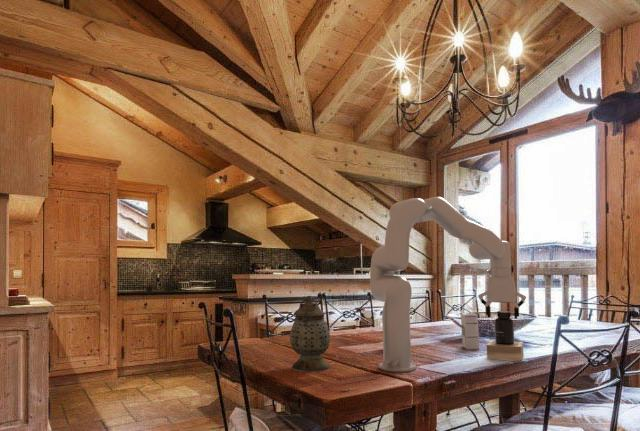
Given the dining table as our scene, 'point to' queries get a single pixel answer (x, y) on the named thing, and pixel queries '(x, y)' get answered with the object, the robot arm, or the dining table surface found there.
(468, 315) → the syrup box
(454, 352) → the dining table surface
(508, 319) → the supplement bottle
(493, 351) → the plinth
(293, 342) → the lantern
